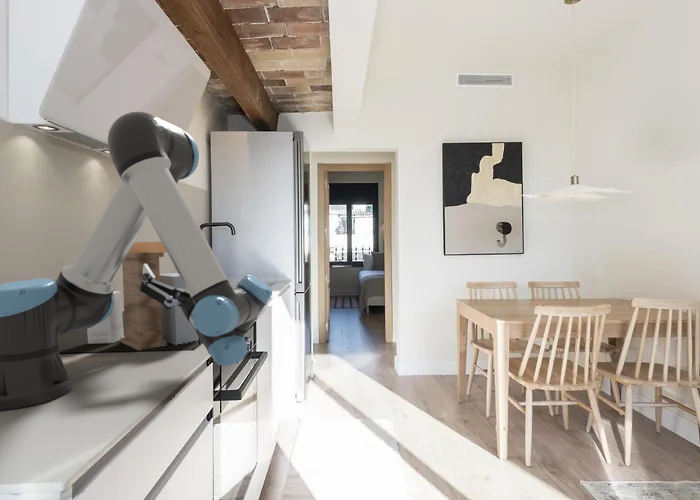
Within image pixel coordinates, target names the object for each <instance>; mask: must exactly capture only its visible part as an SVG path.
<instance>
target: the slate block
mask: <svg viewBox="0 0 700 500" xmlns="http://www.w3.org/2000/svg"><path fill="white" fill-rule="evenodd" d="M160 282H162V283H164V284H167V285H170V286H172V287H175V288H176V287H179V288H182V289H187V288H186V286H185V285H184V283H183V281H182V279H181V277H180V275H179V273H178V272H172V273H171V272H170V273H160ZM179 294H180V292H178V296H179ZM178 296H177V297H178ZM161 324H162V339H165V340H167V343H170V344H173V345H175V346H179V345H178V344H180V345H184V344H183V343H185V344H189V343H188V342H190V343H194V342H193V341H195V342H199V341H200V340H199V339H200V338H199V336H198V334H197V333H196V332H195V330H194V328H193V327H192V325H191V324H190V322H189V321H188V319H187V318H186V316H185V315H184V313H183V311H182V308H181V307H180V306H178V305H174V306H171V309H166V308H165V307H164V305H163V304H161ZM198 340H199V341H198Z"/></svg>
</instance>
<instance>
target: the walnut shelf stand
mask: <svg viewBox="0 0 700 500" xmlns="http://www.w3.org/2000/svg"><path fill="white" fill-rule="evenodd" d="M164 253H165V252H163V253H136V252H128V254H127V255H126V257H125V259H124V261H123V262H122V264H121V266H122V287H123V288H122V290H123V291H122V292H123V313H124V314H123V315H124V316H123V317H124V337H121V340H120V343H122V344H124V345H126V346H128V347H130V348H132V349H135V350H136V351H143V349H145V350H149V349H148V348H150V349H155V348H159V347H160V346H161V347H165V346H166V347H167V346H168V342H167V340H165V339H162V324H161V303H160V302H158V301H156V300H155V299H153V298H151V297H150V296H148V295H146V294H145V293H143V292H141V291H140V287H141V281H144V280H143V273H142V271H143V265H144V264H147V265H148V266H149V268H150V269H151V271H152V273H153V274H154V276H155V277H156V278H155V280H157V281H159V282H160V274H161V273H160V258H163V257H164V256H165V254H164ZM154 347H155V348H154Z"/></svg>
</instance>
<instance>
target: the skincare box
mask: <svg viewBox="0 0 700 500" xmlns="http://www.w3.org/2000/svg"><path fill="white" fill-rule="evenodd" d="M113 293H114V296H113V299H114V306H113V309H112V311H111V313H110V314H109V316H108V317H107V318H106V319H105V320H104V321H102V322H101V323H99V324H96V325H95V326H93V327H91V328H87V331H86V332H87V344H89V345H91V344H114V343H117V342H119V341H121V337H125V332H124V321H123V307H122V306H123V305H122V296H121V294H122V293H121V291H120V290H118V291H117V290H114V291H113Z"/></svg>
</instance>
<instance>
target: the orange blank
mask: <svg viewBox="0 0 700 500" xmlns="http://www.w3.org/2000/svg"><path fill="white" fill-rule="evenodd" d="M129 252H136V253H163V252H164V253H167V251H166V249H165V247H164V246H163V244H162V242H161V241H142V242H141V241H139V242H137V241H135V242H134V244H133V245H132V247H131V249H130V250H129Z"/></svg>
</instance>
